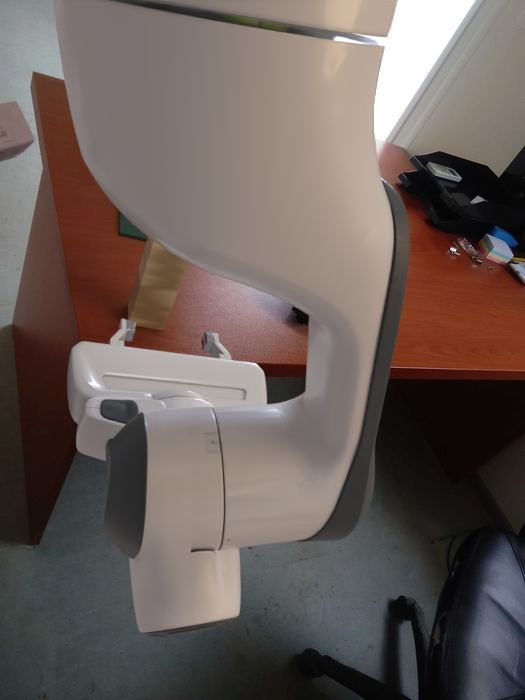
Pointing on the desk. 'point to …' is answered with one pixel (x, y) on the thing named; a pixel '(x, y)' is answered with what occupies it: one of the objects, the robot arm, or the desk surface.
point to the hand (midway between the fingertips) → (169, 329)
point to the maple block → (155, 286)
